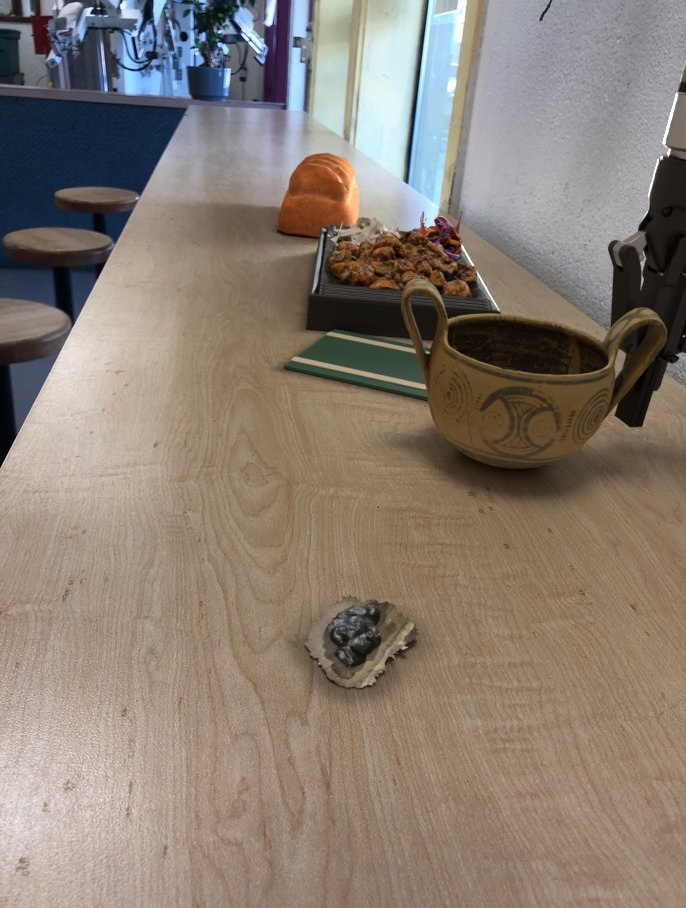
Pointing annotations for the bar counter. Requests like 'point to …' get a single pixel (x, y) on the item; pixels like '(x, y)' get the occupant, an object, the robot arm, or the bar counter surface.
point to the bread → (319, 196)
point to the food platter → (391, 278)
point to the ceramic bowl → (524, 380)
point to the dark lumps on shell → (358, 639)
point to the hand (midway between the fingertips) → (628, 421)
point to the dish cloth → (364, 363)
